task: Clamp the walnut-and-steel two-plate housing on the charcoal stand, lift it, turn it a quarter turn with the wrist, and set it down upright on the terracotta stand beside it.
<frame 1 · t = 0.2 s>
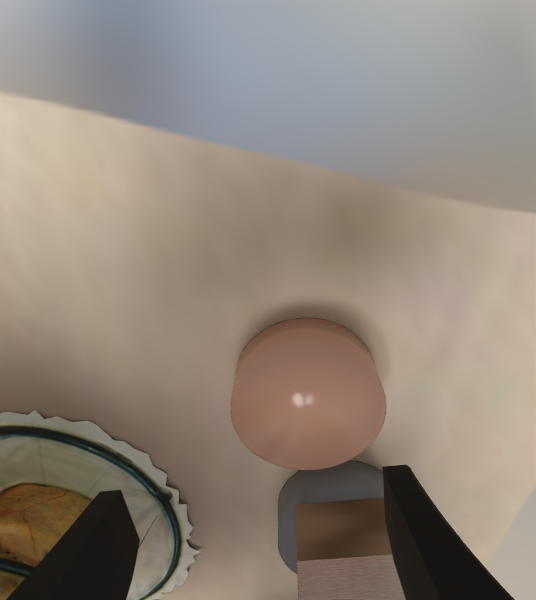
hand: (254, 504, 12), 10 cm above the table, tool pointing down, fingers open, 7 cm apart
housing: (343, 544, 23), point 2 cm above the table, touching stand a
stand b: (304, 379, 22), on the table
stand a: (337, 505, 26), on the table
decorative vase: (51, 522, 27), on the table
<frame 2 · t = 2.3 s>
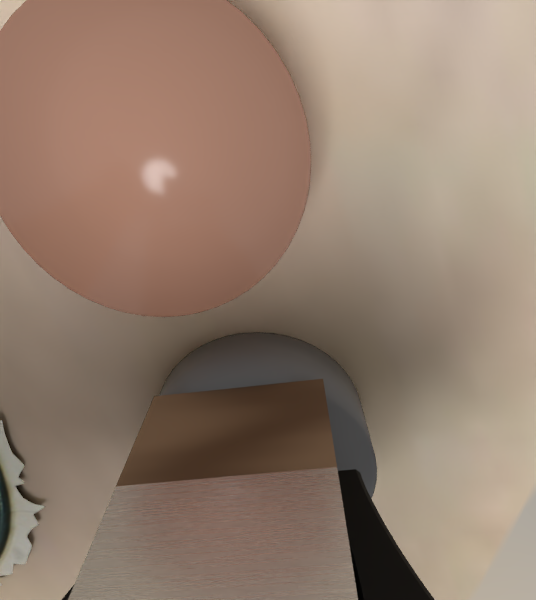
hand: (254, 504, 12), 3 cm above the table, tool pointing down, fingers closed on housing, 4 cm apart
housing: (256, 479, 13), point 2 cm above the table, touching gripper, stand a
stand b: (171, 155, 12), on the table
stand a: (259, 422, 15), on the table
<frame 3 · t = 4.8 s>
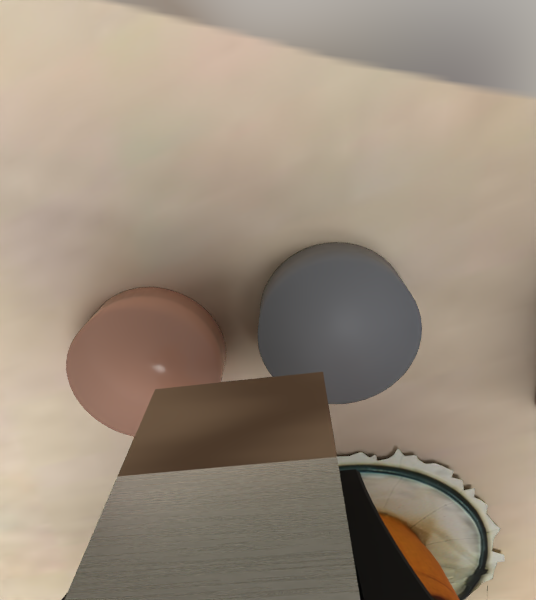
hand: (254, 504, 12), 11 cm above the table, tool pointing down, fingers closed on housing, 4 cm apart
housing: (256, 472, 13), point 9 cm above the table, touching gripper
stand b: (157, 350, 22), on the table
stand a: (332, 312, 21), on the table
decorative vase: (352, 553, 29), on the table
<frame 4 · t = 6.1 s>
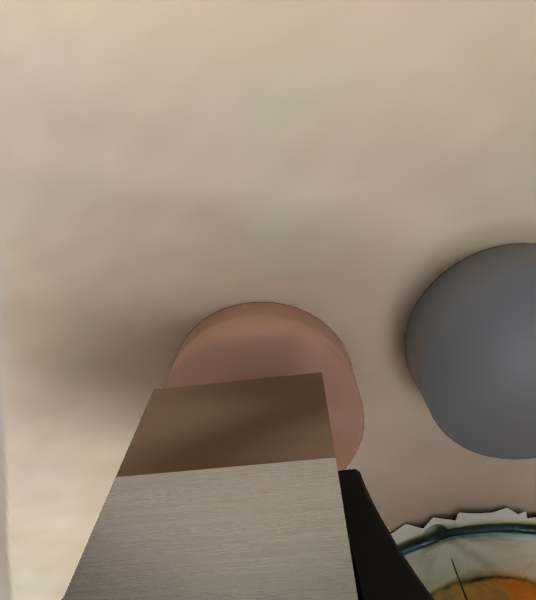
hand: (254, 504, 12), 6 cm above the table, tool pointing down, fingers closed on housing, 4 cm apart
housing: (255, 472, 13), point 5 cm above the table, touching gripper
stand b: (262, 383, 17), on the table
stand a: (502, 335, 16), on the table
when the fingers open (4 cm above the table, at t = 7.2 s): housing stays where it is, resting on stand b.
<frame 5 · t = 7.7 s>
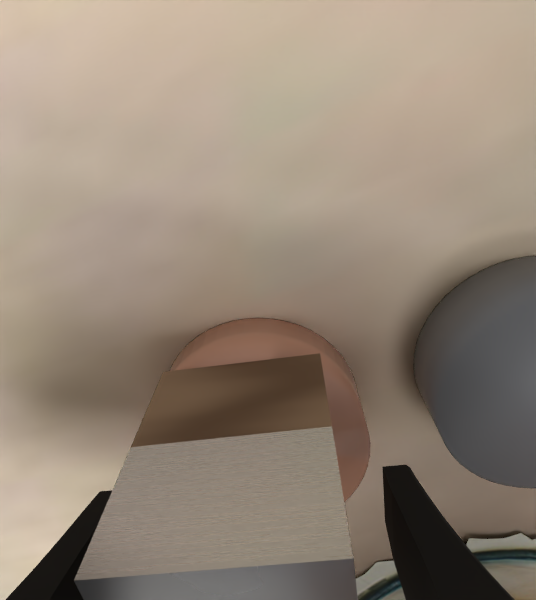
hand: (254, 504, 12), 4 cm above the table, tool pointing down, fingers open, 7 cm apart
housing: (258, 450, 14), point 2 cm above the table, touching stand b
stand b: (260, 403, 16), on the table
stand a: (518, 353, 15), on the table
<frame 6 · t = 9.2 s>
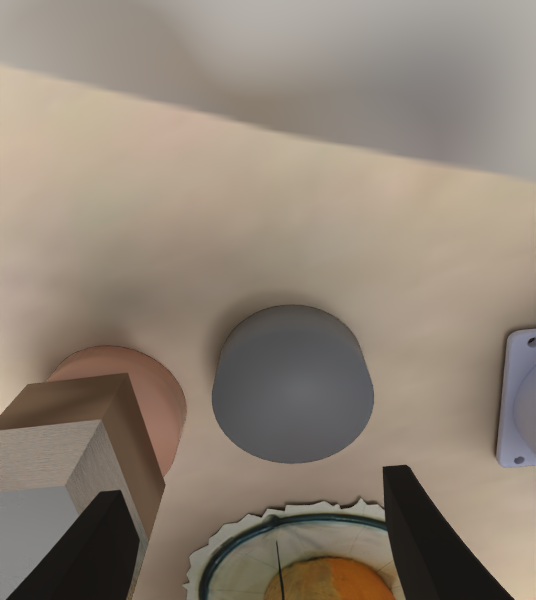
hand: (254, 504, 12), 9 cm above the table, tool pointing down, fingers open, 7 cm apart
housing: (100, 437, 20), point 2 cm above the table, touching stand b
stand b: (118, 405, 22), on the table
stand a: (291, 370, 21), on the table
decorative vase: (320, 594, 29), on the table
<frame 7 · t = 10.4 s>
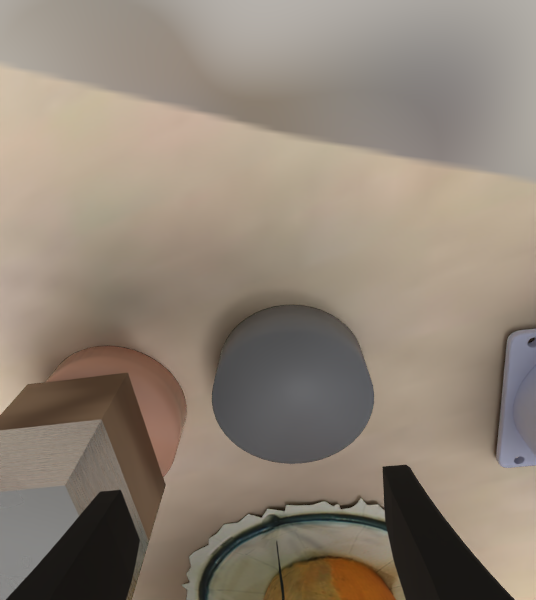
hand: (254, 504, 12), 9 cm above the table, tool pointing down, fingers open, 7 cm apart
housing: (100, 437, 20), point 2 cm above the table, touching stand b
stand b: (118, 405, 22), on the table
stand a: (291, 370, 21), on the table
decorative vase: (320, 594, 29), on the table
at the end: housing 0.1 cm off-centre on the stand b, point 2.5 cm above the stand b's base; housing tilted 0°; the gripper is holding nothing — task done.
